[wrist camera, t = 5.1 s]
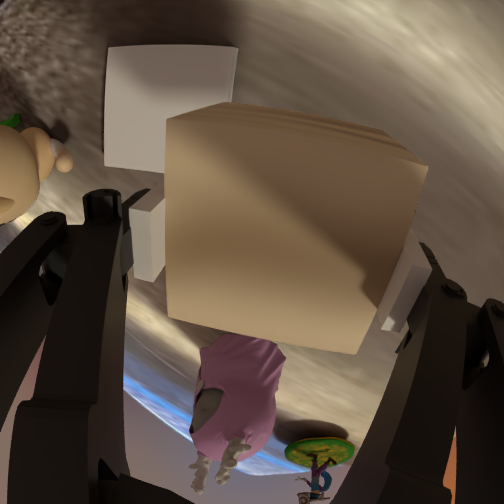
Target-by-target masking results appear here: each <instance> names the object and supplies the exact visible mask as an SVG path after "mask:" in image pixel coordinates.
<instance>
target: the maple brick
mask: <svg viewBox="0 0 504 504" xmlns="http://www.w3.org/2000/svg"><path fill="white" fill-rule="evenodd" d="M428 168H429V167H428V166H427V165H426V164H425V163H423V162H422V161H421V160H420V159H419V158H417V157H416V156H415V155H414V154H412V153H411V152H410V151H409V150H407V149H406V148H405V147H403V146H402V145H401V144H400V143H398V142H397V141H396V140H394V139H393V138H392V137H390V136H389V135H388V134H386V133H385V132H384V131H382V130H378V129H375V128H371V127H367V126H363V125H359V124H354V123H350V122H346V121H341V120H337V119H332V118H327V117H322V116H317V115H312V114H307V113H301V112H296V111H290V110H284V109H277V108H271V107H264V106H256V105H248V104H240V103H231V102H222V103H218V104H214V105H211V106H207V107H204V108H200V109H197V110H193V111H190V112H187V113H183V114H180V115H177V116H174V117H171V118H168V119H166V139H165V171H164V197H165V272H166V293H167V310H168V317H170V318H174V319H178V320H182V321H186V322H190V323H194V324H198V325H202V326H206V327H211V328H215V329H219V330H224V331H228V332H233V333H237V334H242V335H247V336H251V337H256V338H261V339H266V340H271V341H276V342H282V343H287V344H292V345H298V346H304V347H309V348H315V349H321V350H327V351H334V352H340V353H347V354H354V355H356V353H357V351H358V349H359V347H360V345H361V343H362V341H363V339H364V337H365V335H366V333H367V331H368V328H369V326H370V324H371V322H372V320H373V318H374V316H375V313H376V311H377V309H378V306H379V304H380V302H381V300H382V297H383V295H384V293H385V290H386V288H387V286H388V283H389V281H390V278H391V276H392V274H393V271H394V269H395V266H396V263H397V261H398V258H399V256H400V253H401V250H402V248H403V245H404V242H405V240H406V237H407V234H408V231H409V228H410V225H411V223H412V220H413V217H414V214H415V211H416V208H417V205H418V201H419V198H420V195H421V192H422V189H423V185H424V182H425V178H426V175H427V171H428Z"/></svg>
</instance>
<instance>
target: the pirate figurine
mask: <svg viewBox="0 0 504 504" xmlns="http://www.w3.org/2000/svg"><path fill="white" fill-rule="evenodd" d="M354 452H355V446H354V444H353V443H351V442H350V441H347V440H344V439H341V438H336V437H324V438H319V437H317V438H307V439H302V440H299V441H296V442H293V443H291V444H289V445H288V446H287V447H286V449H285V456H286V458H287V459H288V460H289V461H291V462H294V463H296V464H299V465H302V466H306V467H311V470H312V481H311V483H310V482H309V481H308V480H307V479H306V478H299V476H298V478H299V479H296V480H304V481H306V482H307V484H308V485H309V486H310V487H311V491H312V492H311V493H308V492H303V493H298V494H297V495H298V497H299V504H310V503H309V502H312V501H319V500H320V501H324V500H325V499H329V498H330V497H329V498H324V491H327V490H328V489H329V487H330V485H331V481H332V478H331V476H330V475H329V473H327V472H326V471H325V470H326V468H327V467H332V466H335V465H338V464H340V463H343V462H345V461H347V460H349V459H350V458H351V457H352V456H353V454H354ZM317 469H318V470H317ZM320 474H321V476H322V477H324V480H325V484H324V486H323V487H321V486H320V485H319V477H320ZM319 492H321V494H319ZM309 494H310V498H309ZM309 499H310V500H309Z"/></svg>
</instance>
